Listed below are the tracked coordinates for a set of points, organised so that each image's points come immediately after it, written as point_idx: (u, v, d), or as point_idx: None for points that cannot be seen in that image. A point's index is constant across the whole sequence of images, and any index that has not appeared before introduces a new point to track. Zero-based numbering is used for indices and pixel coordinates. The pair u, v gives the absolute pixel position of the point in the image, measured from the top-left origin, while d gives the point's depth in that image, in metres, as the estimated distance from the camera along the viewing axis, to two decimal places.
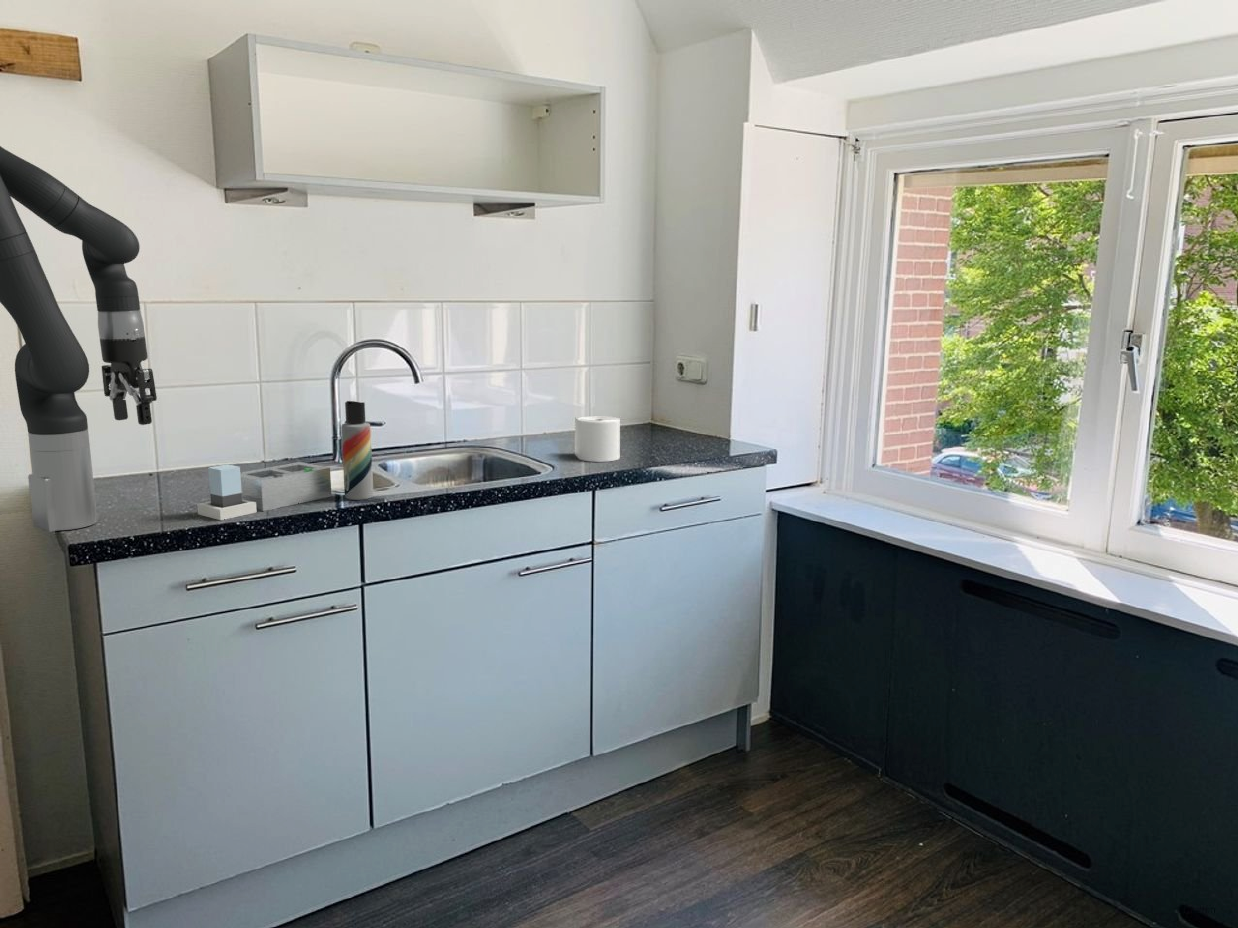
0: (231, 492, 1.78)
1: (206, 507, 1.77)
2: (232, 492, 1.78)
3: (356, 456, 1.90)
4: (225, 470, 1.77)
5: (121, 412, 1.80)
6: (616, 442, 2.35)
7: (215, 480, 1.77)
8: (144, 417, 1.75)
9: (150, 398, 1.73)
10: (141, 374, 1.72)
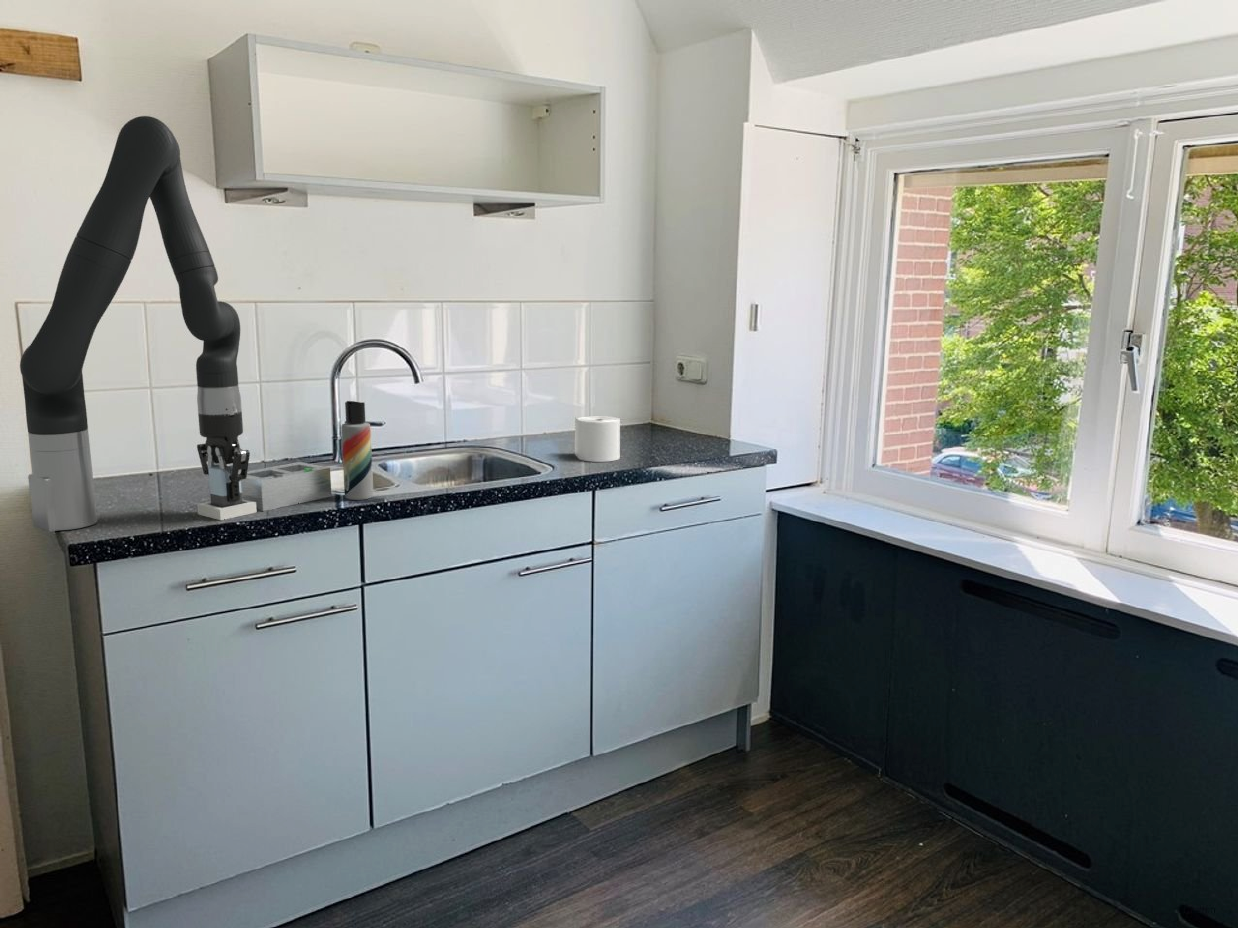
0: None
1: (206, 507, 1.77)
2: None
3: (356, 456, 1.90)
4: None
5: None
6: (616, 442, 2.35)
7: (215, 480, 1.77)
8: (233, 495, 1.77)
9: (240, 476, 1.76)
10: (239, 457, 1.74)
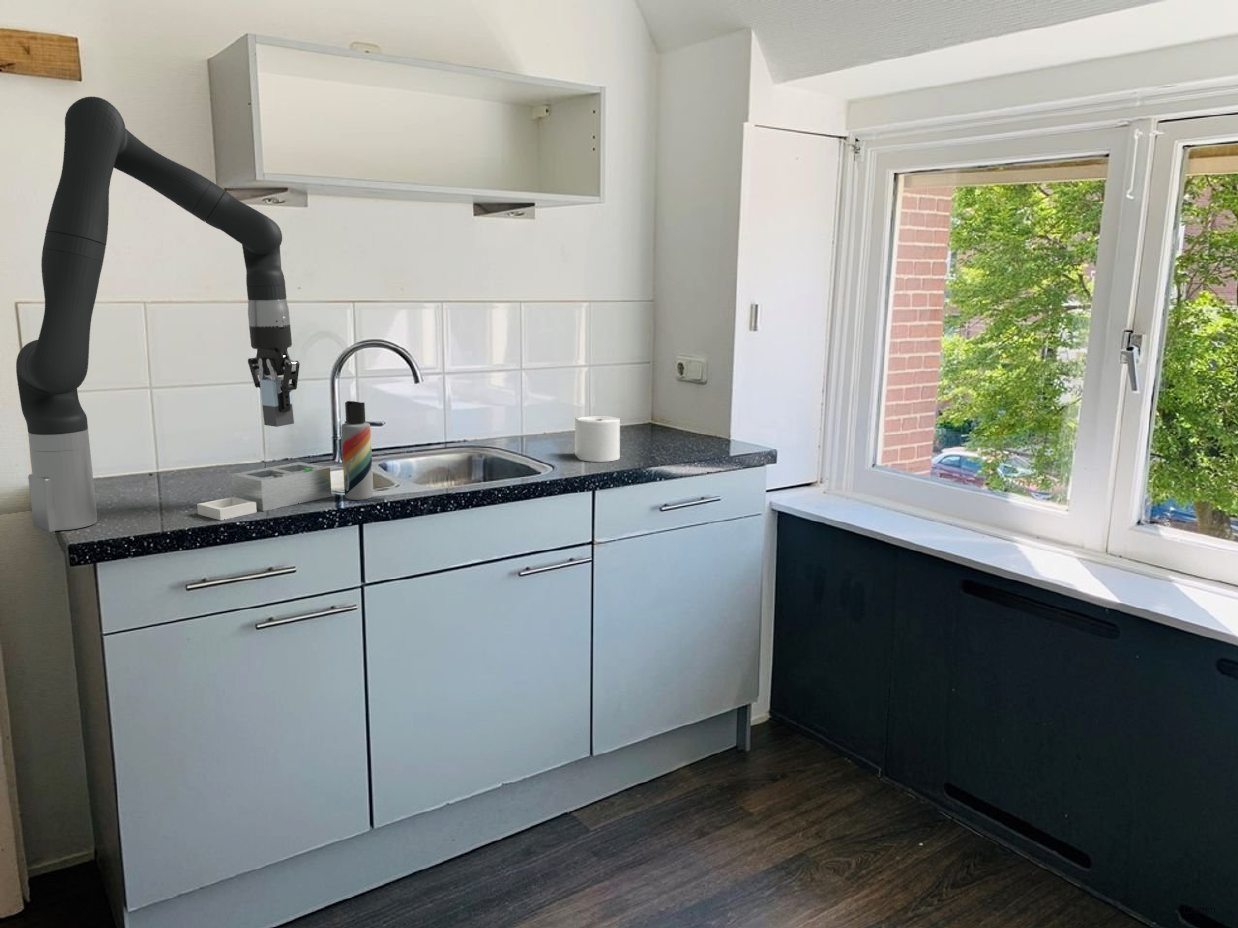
0: None
1: (206, 507, 1.77)
2: None
3: (356, 456, 1.90)
4: None
5: None
6: (616, 442, 2.35)
7: (267, 391, 1.84)
8: (284, 405, 1.84)
9: (291, 386, 1.83)
10: (289, 367, 1.81)
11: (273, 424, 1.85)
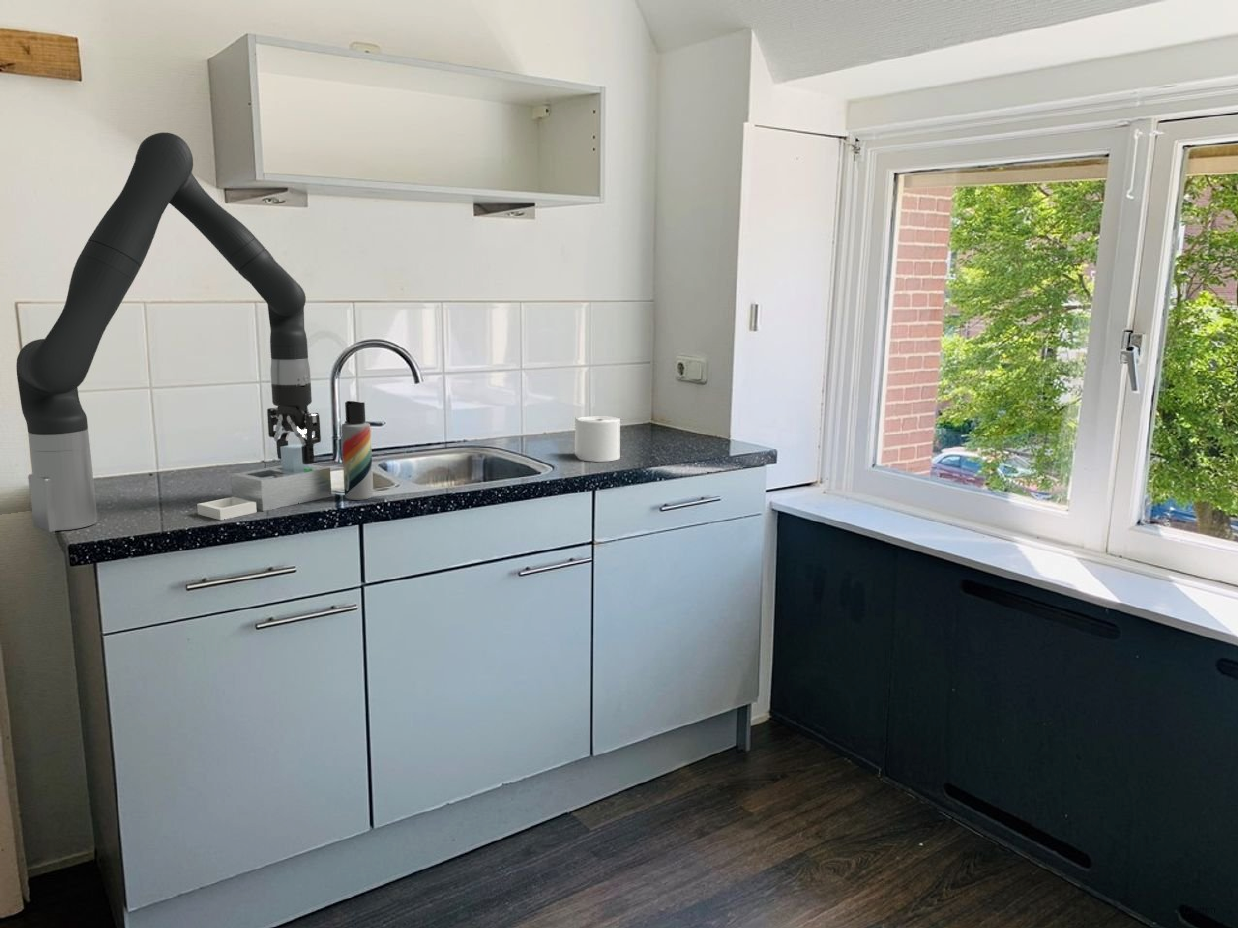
0: (301, 469, 1.92)
1: (206, 507, 1.77)
2: (302, 469, 1.92)
3: (356, 456, 1.90)
4: (297, 449, 1.90)
5: None
6: (616, 442, 2.35)
7: (287, 458, 1.91)
8: (308, 457, 1.89)
9: (315, 439, 1.88)
10: (310, 418, 1.86)
11: None
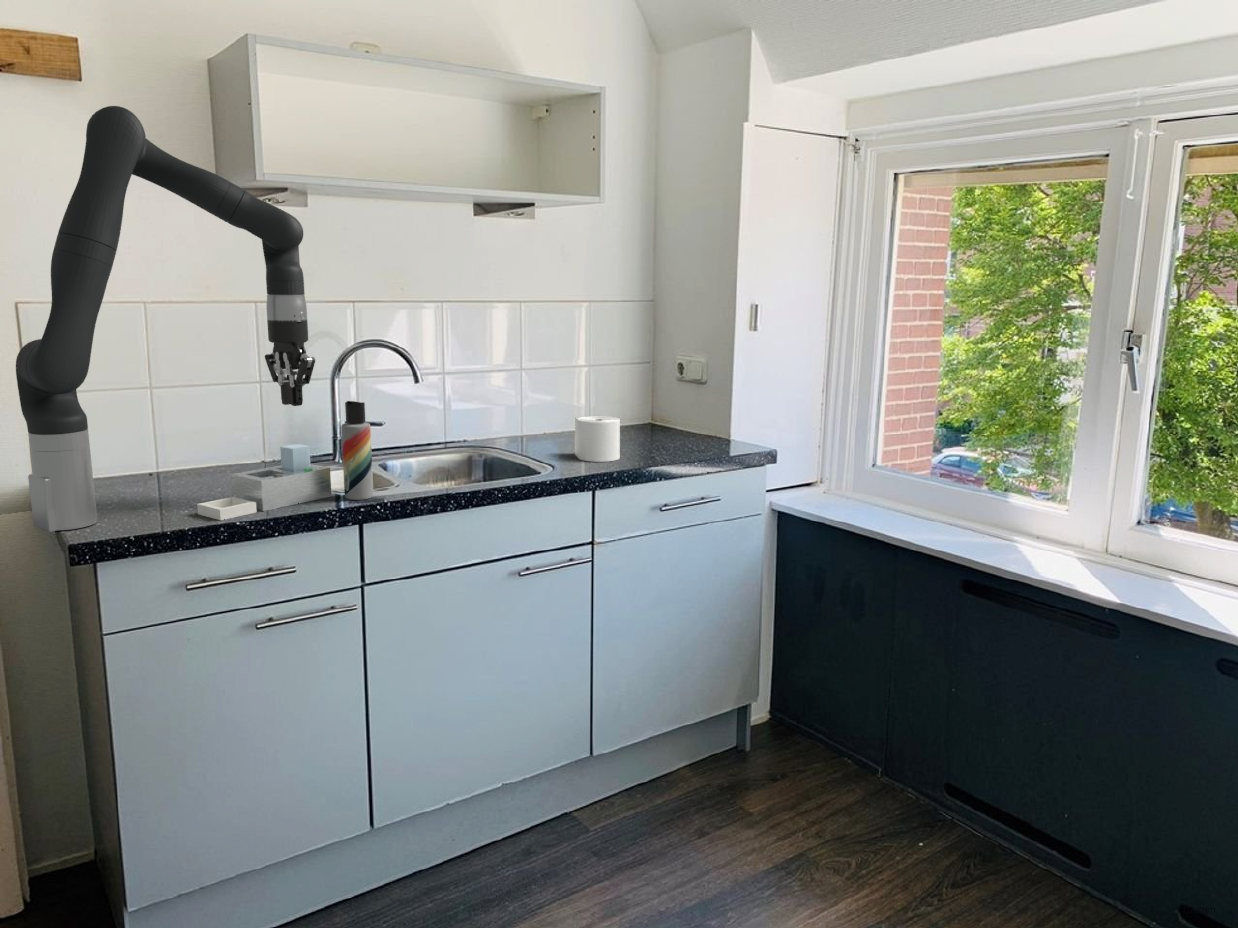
0: (301, 469, 1.92)
1: (206, 507, 1.77)
2: (302, 469, 1.92)
3: (356, 456, 1.90)
4: (297, 449, 1.90)
5: (288, 397, 1.91)
6: (616, 442, 2.35)
7: (287, 458, 1.91)
8: (297, 399, 1.88)
9: (304, 380, 1.87)
10: (305, 363, 1.84)
11: None
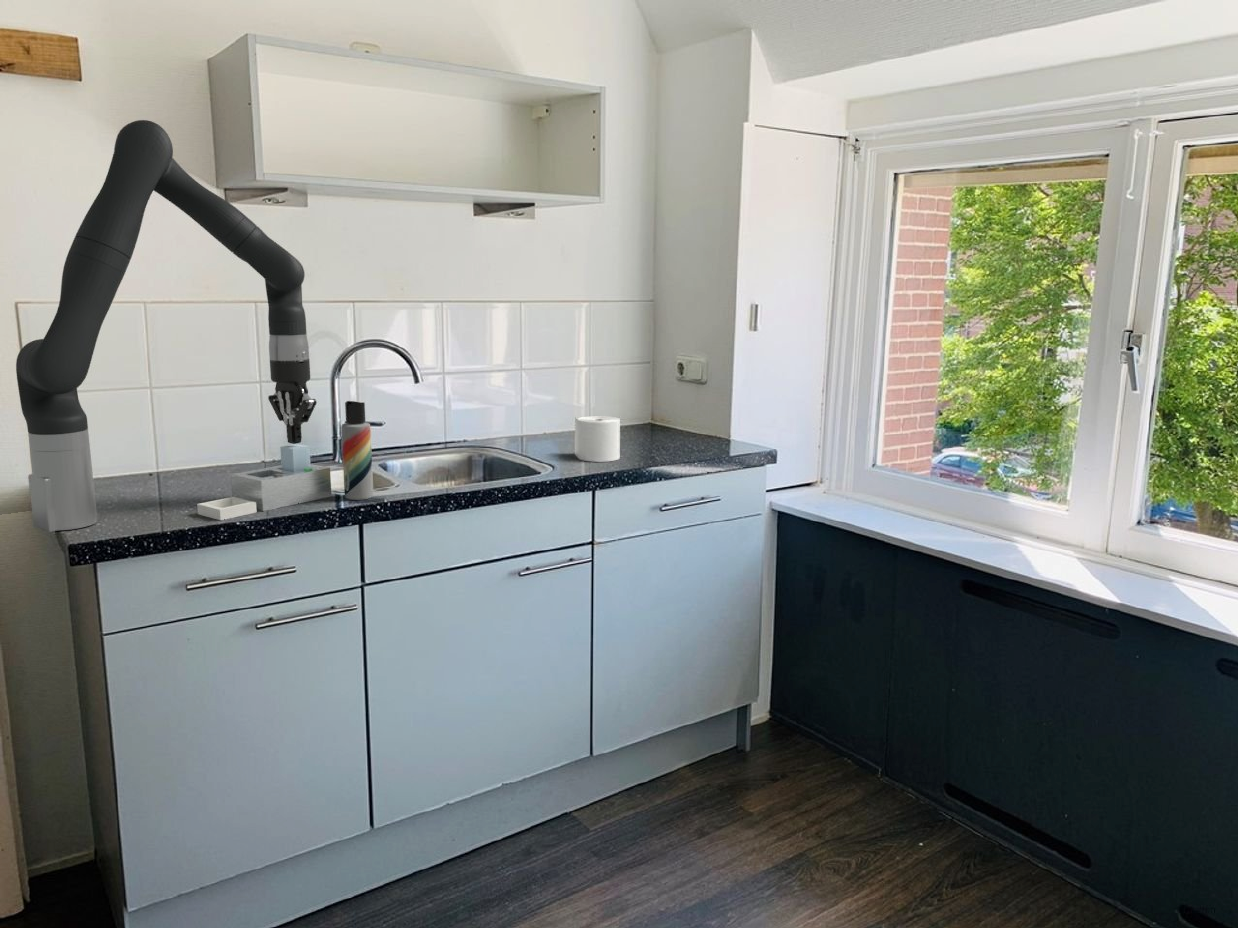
0: (301, 469, 1.92)
1: (206, 507, 1.77)
2: (302, 469, 1.92)
3: (356, 456, 1.90)
4: (297, 449, 1.90)
5: None
6: (616, 442, 2.35)
7: (287, 458, 1.91)
8: (296, 437, 1.91)
9: (302, 419, 1.89)
10: (306, 405, 1.86)
11: None
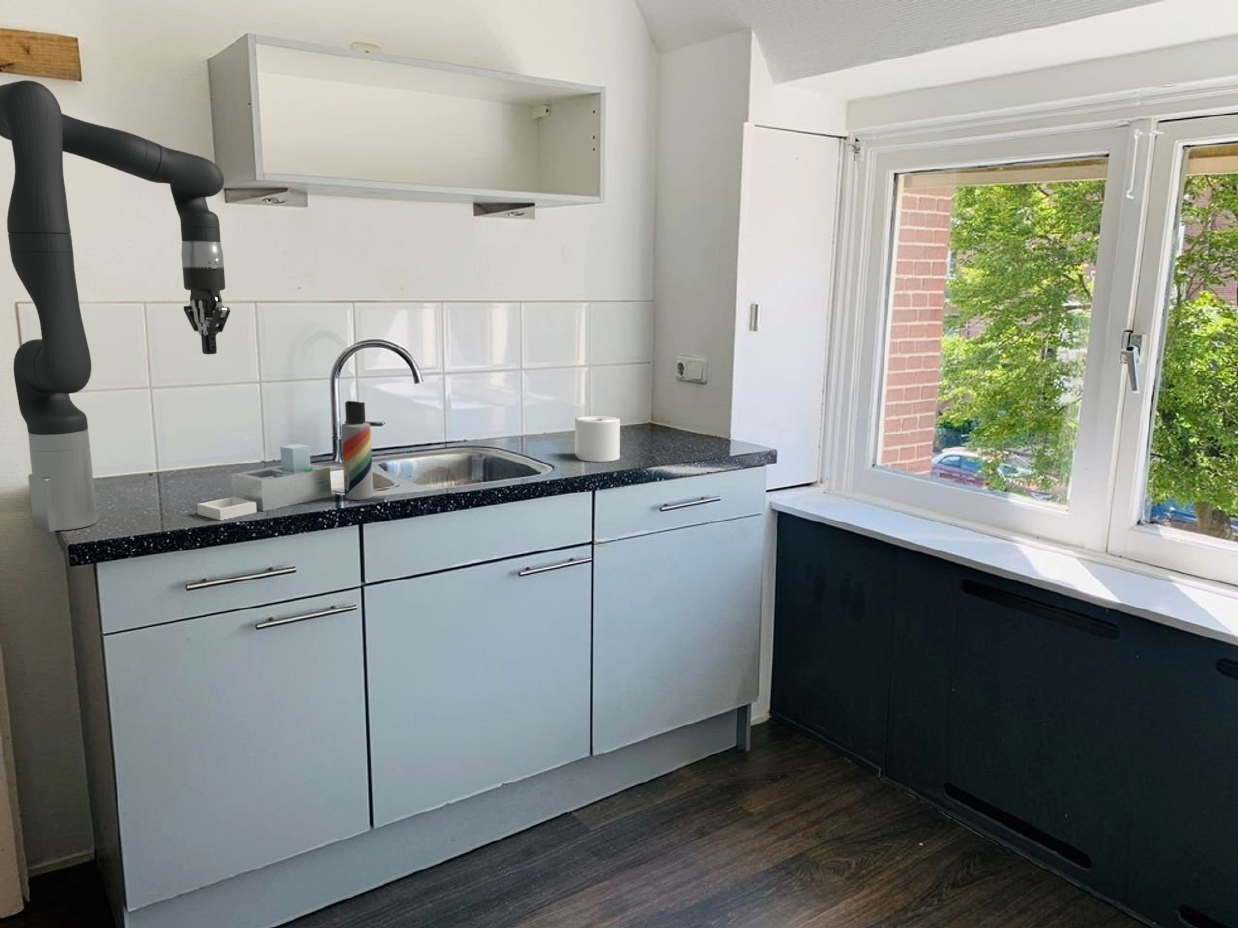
0: (301, 469, 1.92)
1: (206, 507, 1.77)
2: (302, 469, 1.92)
3: (356, 456, 1.90)
4: (297, 449, 1.90)
5: None
6: (616, 442, 2.35)
7: (287, 458, 1.91)
8: (210, 347, 1.88)
9: (216, 328, 1.87)
10: (219, 313, 1.84)
11: None
